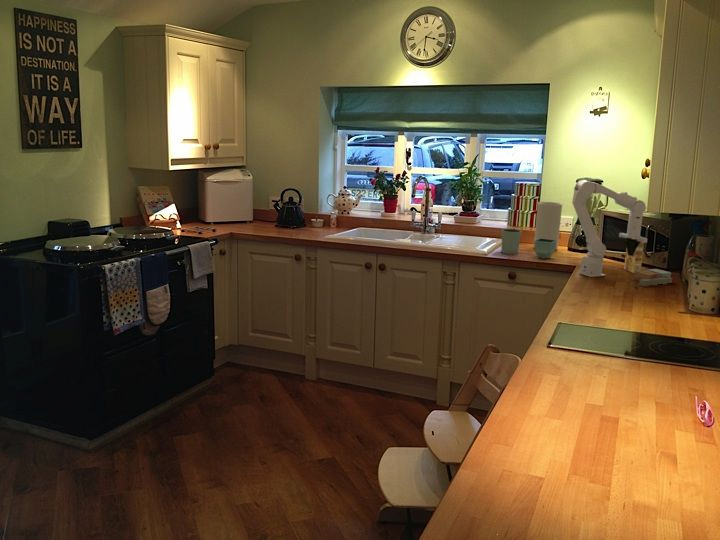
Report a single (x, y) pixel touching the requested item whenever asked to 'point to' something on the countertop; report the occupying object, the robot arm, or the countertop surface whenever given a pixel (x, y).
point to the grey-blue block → (660, 273)
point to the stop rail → (655, 281)
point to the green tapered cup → (510, 241)
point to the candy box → (634, 259)
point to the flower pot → (544, 247)
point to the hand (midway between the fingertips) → (630, 255)
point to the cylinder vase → (548, 221)
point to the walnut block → (644, 275)
